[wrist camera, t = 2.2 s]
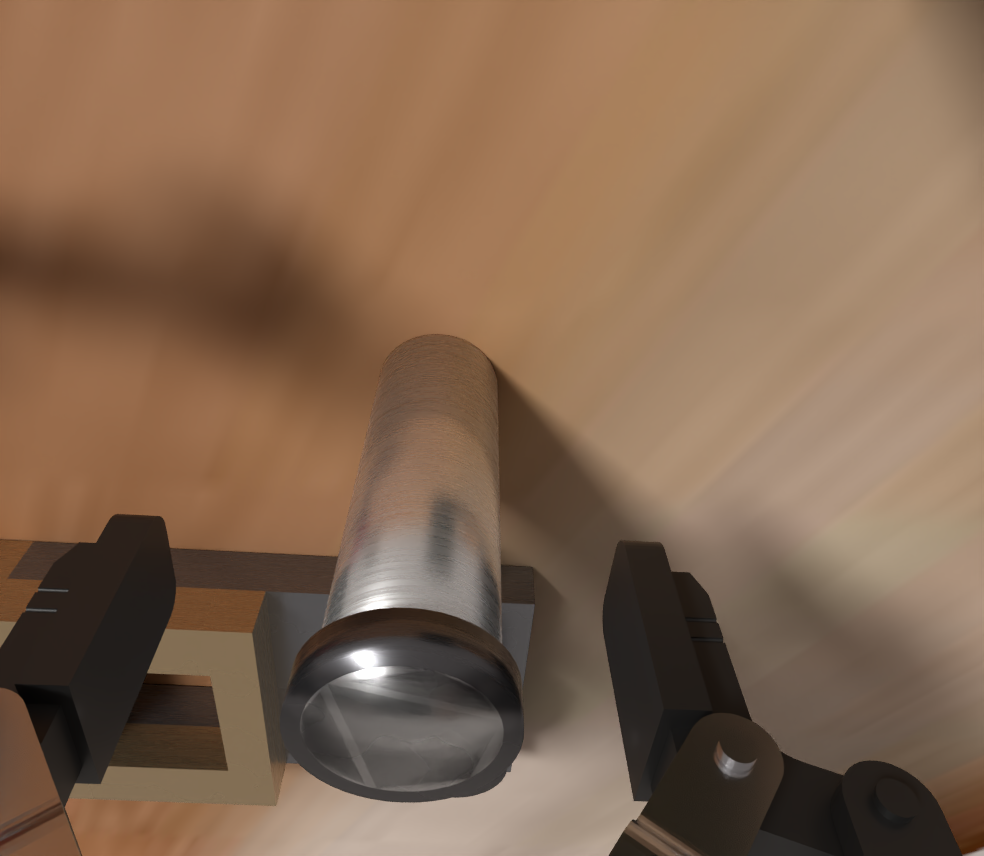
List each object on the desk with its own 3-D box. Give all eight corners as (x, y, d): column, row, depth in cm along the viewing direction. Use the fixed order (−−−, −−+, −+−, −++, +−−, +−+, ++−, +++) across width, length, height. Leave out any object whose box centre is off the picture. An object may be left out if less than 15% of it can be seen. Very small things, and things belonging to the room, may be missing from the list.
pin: (515, 327, 19) (535, 657, 11) (503, 449, 21) (513, 806, 13) (365, 318, 19) (269, 645, 11) (368, 441, 21) (288, 797, 13)
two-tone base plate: (532, 567, 23) (541, 710, 19) (509, 733, 28) (512, 879, 24) (-236, 527, 22) (-400, 669, 18) (-133, 705, 27) (-247, 853, 23)
